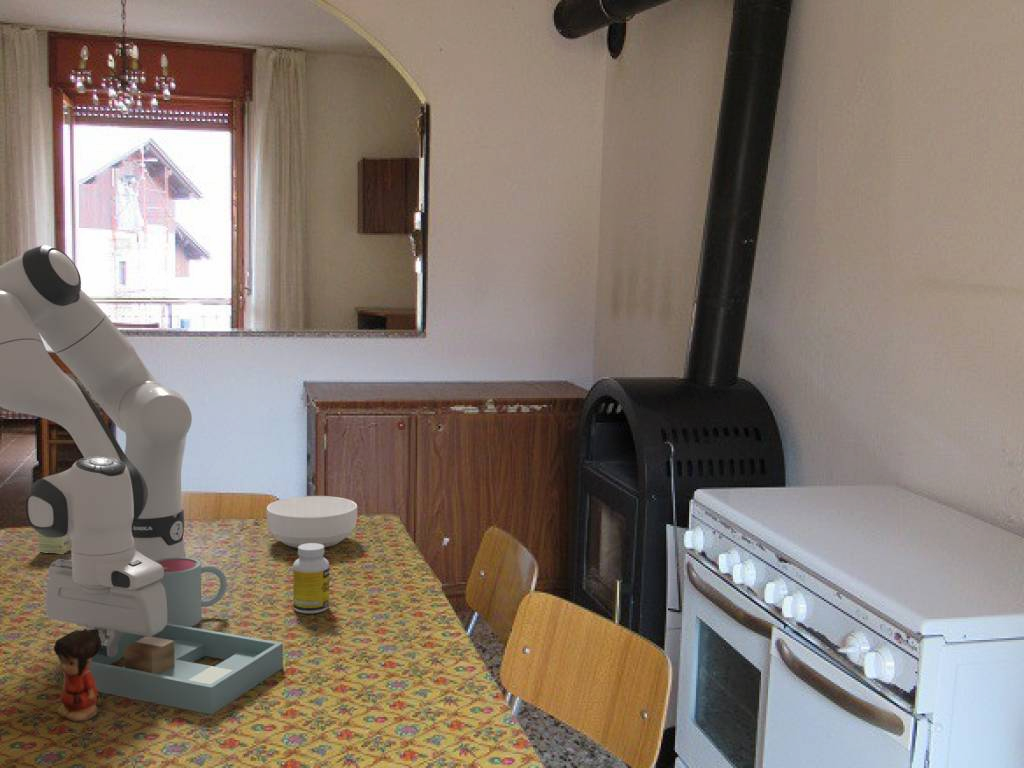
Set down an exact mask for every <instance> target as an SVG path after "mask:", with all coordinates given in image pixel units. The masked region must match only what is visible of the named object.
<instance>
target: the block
mask: <svg viewBox="0 0 1024 768" xmlns="http://www.w3.org/2000/svg"><path fill="white" fill-rule="evenodd" d="M123 661H124V665H123V667H124V668H128V669H133V670H139V671H144V672H149V673H154V674H159V675H160V674H162V673H163V672H165V671H167V670H169V669H171V668H172V667H174V666H175V660H174V641H173V640H167V639H162V638H156V637H151V636H150V637H146V636H145V637H143V638H141V639H139V640H137V641H135V642H133V643H131V644H129V645H127V646H125V647H124V657H123Z"/></svg>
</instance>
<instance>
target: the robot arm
mask: <svg viewBox="0 0 1024 768" xmlns="http://www.w3.org/2000/svg"><path fill="white" fill-rule="evenodd" d="M43 340H44V341H45V343H46V344H47V346H48V347H49V348H50V349H51V351H52V352H54V354H55V355H56V356H57V357H58V358H59V359H60V361H62V363H63V364H64V365H66V367H67V368H68V369H69V370H70V371H71V372H72V374H73V375H74V376H75V377H76V378H77V379H78V380H79V381H80V382H81V383H82V384H83V385H82V384H81V383H80V382H79V381H77V380H75V379H74V378H72V377H70V376H69V375H68V374H67V373H65V372H64V371H63V370H62V369H61V368H60V367H59V366H58V364H56V362H55V360H53V358H52V357H51V355H50V354H49V352H48V350H47V349H46V346H45V344H44V342H43ZM83 386H84V387H85V388H84V387H83ZM86 390H87V391H88V392H87V391H86ZM89 394H90V395H91V396H92V397H93V399H94V400H95V401H96V402H97V404H98V405H99V406H100V407H101V409H102V410H103V412H104V413H105V414H106V415H107V416H108V417H109V419H111V421H112V422H113V423H114V424H115V425H116V427H117V428H118V429H119V430H121V431H122V432H123V433H125V447H124V451H123V449H122V447H121V446H120V443H119V442H118V441H117V439H116V437H115V436H114V434H113V433H112V431H111V429H110V428H109V426H108V424H107V423H106V421H105V419H104V418H103V416H102V414H101V412H100V411H99V409H98V407H97V406H96V404H95V402H94V401H93V400H92V398H91V396H90V395H89ZM0 408H2V409H5V410H6V411H10V412H13V413H19V414H26V415H30V416H34V417H39V418H42V419H45V420H49V421H51V422H53V423H56V424H58V426H61V427H62V428H64V429H65V430H66V431H67V432H68V433H69V435H70V436H71V438H72V439H73V441H74V442H75V445H76V446H77V449H79V451H80V453H81V454H82V456H83V457H82V458H80V459H77V460H76V461H75V462H74V463H72V466H71V467H69V468H68V469H67V470H64V471H61V472H57V473H54V474H51V475H47V476H44V477H43V478H39V479H37V480H36V481H35V482H34V483H33V485H32V486H31V487H30V488H29V491H28V493H27V496H26V500H25V513H26V519H27V521H28V522H27V523H28V524H29V525H30V527H31V528H32V529H33V530H34V531H36V532H37V534H38V533H40V534H41V535H43V536H45V537H49V538H59V537H69V538H71V540H72V548H71V550H70V553H71V560H67V559H63V558H58V559H56V560H55V561H52V563H51V564H50V566H48V579H47V583H46V588H45V603H44V607H45V608H44V609H45V614H46V615H47V617H48V619H49V620H53V621H57V622H65V623H70V624H75V625H80V626H86V630H91V629H92V630H93V629H97V630H98V632H99V637H100V639H101V648H100V650H99V652H98V653H97V654H98V655H104V656H109V657H112V656H114V655H116V654H117V653H118V642H119V641H120V639H121V637H122V635H123V633H129V634H135V635H140V636H146V637H150V636H153V635H155V634H157V633H159V632H161V631H162V630H163V629H164V628H165V626H166V624H167V601H166V593H165V589H164V587H163V585H162V583H161V582H159V581H158V580H159V579H161V578H163V576H164V569H163V566H162V565H160V564H159V563H157V562H155V560H158V559H163V558H171V557H187V555H186V550H185V544H184V531H185V512H184V509H183V508H182V466H183V460H184V459H183V458H184V453H185V449H186V441H187V434H188V433H189V431H190V428H191V426H192V420H193V419H192V412H191V410H190V407H189V405H188V403H187V402H186V400H185V399H184V397H183V396H182V395H181V394H180V393H178V392H177V391H176V390H174V389H172V388H169V387H167V386H164V385H163V384H161V383H160V382H159V381H158V380H157V379H156V378H155V377H154V375H152V373H151V372H150V371H149V369H148V368H147V367H146V365H145V364H144V362H143V361H142V360H141V358H140V356H139V355H138V353H137V352H136V349H135V348H134V346H133V345H132V344H131V343H130V341H129V340H128V339H127V338H126V336H124V335H123V333H122V332H121V331H120V329H119V328H118V327H117V326H116V325H115V324H114V322H113V321H112V320H111V319H110V318H109V317H108V315H107V314H106V313H105V312H104V311H103V310H102V308H101V307H100V306H99V305H98V304H96V302H95V301H94V300H93V299H92V298H91V297H90V296H89V295H88V294H87V293H86V292H84V291H83V290H82V279H81V275H80V272H79V270H78V268H77V265H75V262H74V261H73V260H72V259H71V258H70V257H69V256H68V255H67V254H66V253H65V252H64V251H62V250H61V249H59V248H56V247H53V246H50V245H46V244H45V245H40V246H36V247H33V248H31V249H28V250H26V251H24V252H23V254H22V255H19V256H17V257H15V258H13V259H10V260H8V261H7V262H4V263H3V264H2V265H0ZM103 630H106V636H108V637H110V638H109V640H108V641H107V640H106V637H105V634H104V632H103Z"/></svg>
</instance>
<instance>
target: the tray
mask: <svg viewBox="0 0 1024 768" xmlns="http://www.w3.org/2000/svg"><path fill="white" fill-rule="evenodd" d="M143 637H145V636H140V635H135V634H129V633H123V635H122V637H121V639H120V641H119V642H118V653H117V654H116V655H114V656H112V657H109V656H104V655H98V654H96V655H95V656H94V657H92V658H91V659H92V662H91V664H90V665H89V666H88V668H89V670H90V673H91V674H92V676H93V678H94V679H95V685H96V686H97V689H98V692H99V693H103V694H104V693H105V694H109V695H113V696H119V697H123V698H128V699H133V700H136V701H137V700H139V701H141V702H142V701H143V702H146V703H147V702H148V703H152V704H157V705H161V706H162V705H163V706H167V707H172V708H177V709H181V710H185V711H191V712H196V713H201V714H205V715H206V714H207V715H211V716H213V715H214V714H215V713H217V712H218V711H220V710H221V709H223V708H225V707H227V705H229V704H230V703H232V702H233V701H235V700H237V699H239V698H240V697H241V696H242V695H245V693H247V692H249V691H250V690H252V689H253V688H254V687H256V686H258V685H259V684H261V683H262V682H264V681H265V680H267V679H268V678H269V677H271V676H273V675H274V674H276V673H278V672H279V671H280V670H282V669H283V668H284V643H283V642H280V641H273V640H267V639H261V638H255V637H251V636H246V635H245V636H244V635H238V634H232V633H228V632H226V633H225V632H221V631H217V630H216V631H215V630H211V629H210V630H209V629H204V628H197V627H193V626H191V627H187V626H181V625H175V624H170V623H167V624H166V626H165V628H164V629H163V630H162V631H161V632H159V633H157V634H155V635H153V636H151V637H156V638H162V639H167V640H173V641H174V660H175V666H174V667H172V668H171V669H169V670H167V671H165V672H163V673H162V674H160V675H159V674H154V673H149V672H144V671H139V670H133V669H128V668H124V666H123V667H122V666H119V665H118V666H117V665H111V664H113V663H115V662H117V661H119V660H121V659H122V658H123V659H124V647H125V646H127V645H129V644H131V643H133V642H135V641H137V640H139V639H141V638H143ZM109 638H110V636H108V637H105V639H106V640H107V641H108V640H109ZM203 657H209V658H215V659H221V660H223V661H221V662H219V663H217V664H216V665H215V666H212V665H207V664H204V663H203V664H202V663H196V661H198V660H200V659H201V658H203ZM64 677H65V673H63V683H64V684H65V678H64ZM64 684H63V685H64Z"/></svg>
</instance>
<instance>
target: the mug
mask: <svg viewBox="0 0 1024 768" xmlns="http://www.w3.org/2000/svg"><path fill="white" fill-rule="evenodd" d="M155 562H157V563H159V564H160V565H162V566H163V569H164V576H163V578H161V579H159V580H158V581H159V582H161V583H162V585H163V587H164V589H165V593H166V601H167V623H170V624H175V625H181V626H187V627H193V626H196V625H197V624H199V623H201V621H202V615H203V614H202V608H203V607H205V608H209V607H211V606H214V605H216V604H217V603H218V602H220V601H221V600H222V598H223V597H224V595H225V594H226V590H227V588H228V587H227V586H228V583H227V581H228V580H227V578H226V574H225V573H224V572H223V571H222V569H220V568H218V567H217V566H215V565H203V566H202V562H201V561H200V560H198V559H197V558H193V557H187V556H186V557H171V558H163V559H158V560H155ZM206 573H212V574H214V575H216V576H217V577H218V579H219V582H220V583H219V584H220V585H219V586H220V587H219V589H218V592H217V593H216V594H215V595H214V596H213V597H211V598H210V599H202V574H206Z"/></svg>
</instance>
